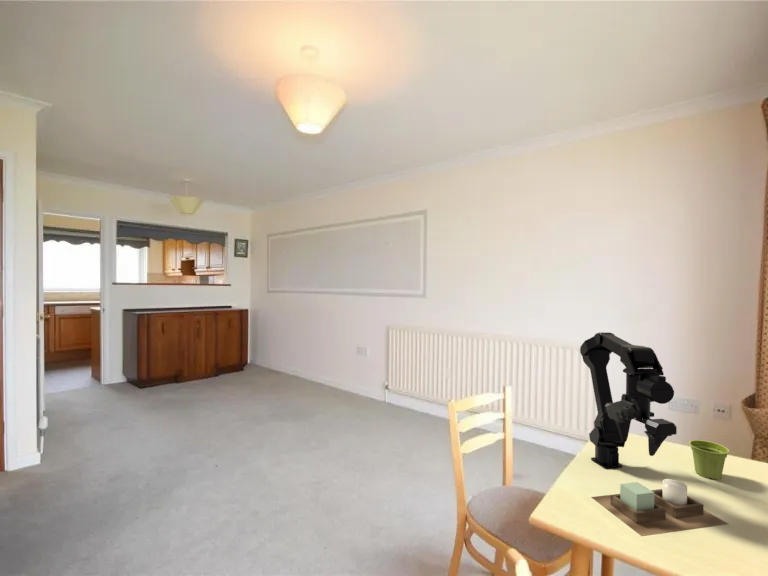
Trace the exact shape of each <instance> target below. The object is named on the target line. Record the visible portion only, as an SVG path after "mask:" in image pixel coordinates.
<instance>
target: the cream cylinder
mask: <svg viewBox="0 0 768 576" xmlns="http://www.w3.org/2000/svg"><path fill="white" fill-rule="evenodd" d="M661 489H662V498H663V499H664V500H666V501H668V502H669V503H671V504H673V505H674V506H682V505H687V496H688V485H686V483H684V482H681V481H679V480H675V479H671V478H665V479H663V480H662V488H661Z"/></svg>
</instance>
